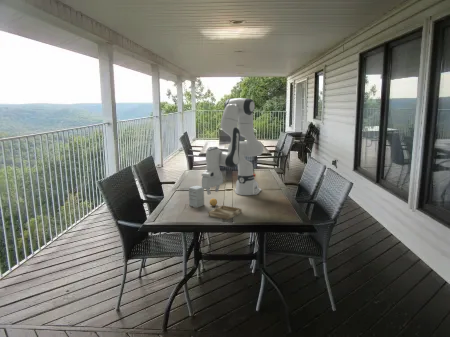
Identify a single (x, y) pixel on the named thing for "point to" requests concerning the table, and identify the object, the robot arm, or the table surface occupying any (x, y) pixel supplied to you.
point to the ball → (213, 202)
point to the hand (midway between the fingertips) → (213, 192)
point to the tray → (225, 212)
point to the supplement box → (196, 196)
